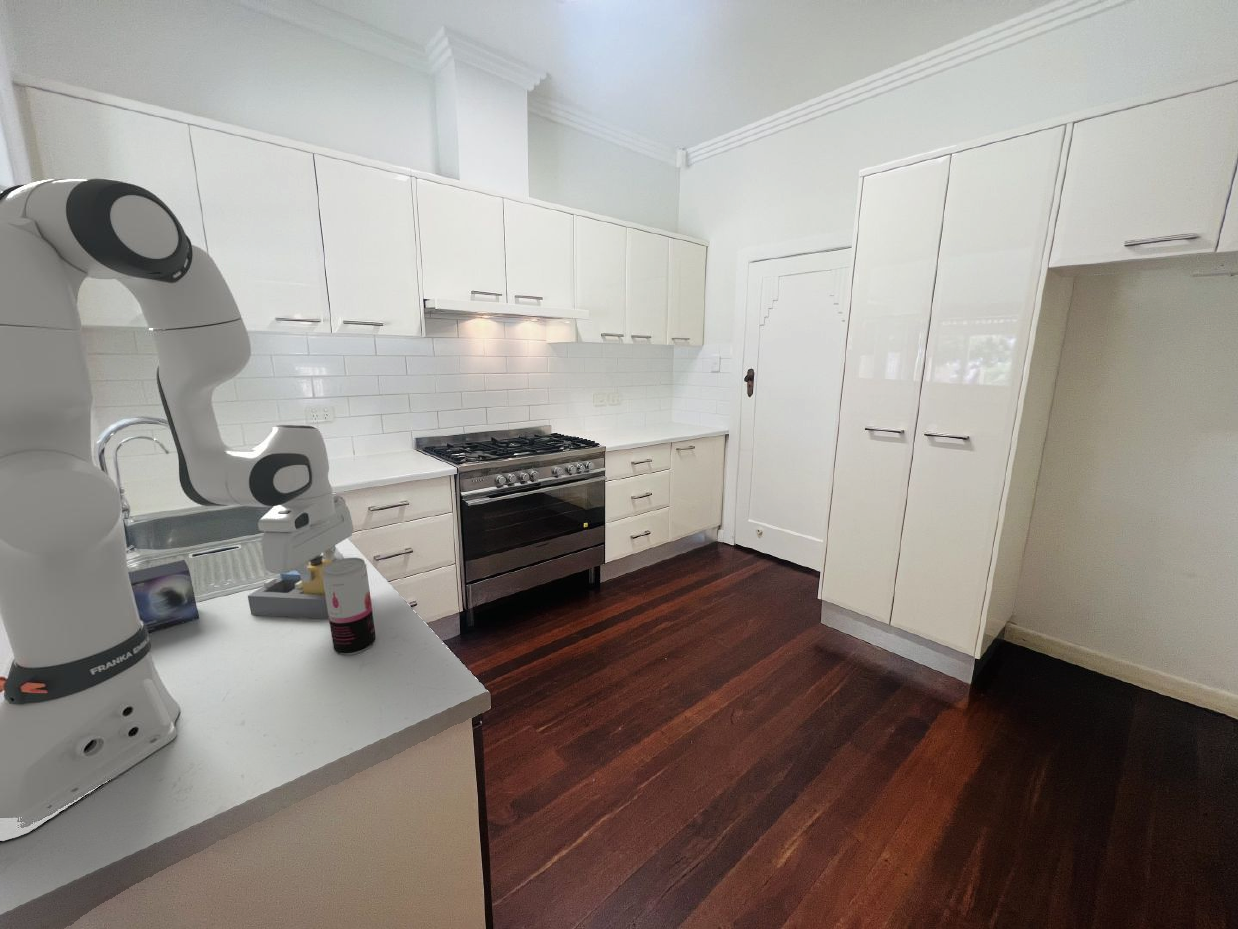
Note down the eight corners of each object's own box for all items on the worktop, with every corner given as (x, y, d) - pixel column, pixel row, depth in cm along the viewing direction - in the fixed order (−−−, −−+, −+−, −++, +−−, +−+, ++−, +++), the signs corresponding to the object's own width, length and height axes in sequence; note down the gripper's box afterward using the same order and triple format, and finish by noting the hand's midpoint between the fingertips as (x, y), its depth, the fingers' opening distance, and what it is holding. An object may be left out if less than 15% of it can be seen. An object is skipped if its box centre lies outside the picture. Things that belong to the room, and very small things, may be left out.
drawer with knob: (325, 611, 98) (318, 562, 96) (306, 609, 98) (298, 561, 96) (338, 600, 102) (331, 554, 99) (320, 600, 102) (313, 553, 100)
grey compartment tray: (328, 618, 95) (325, 595, 94) (251, 614, 97) (246, 591, 96) (357, 596, 104) (354, 573, 103) (286, 592, 106) (282, 570, 105)
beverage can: (384, 638, 89) (374, 560, 85) (353, 659, 83) (340, 576, 79) (357, 631, 91) (346, 554, 88) (325, 651, 85) (312, 570, 82)
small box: (124, 642, 88) (109, 587, 86) (122, 628, 93) (108, 576, 90) (200, 618, 96) (189, 568, 93) (195, 607, 100) (184, 558, 98)
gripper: (328, 492, 106) (337, 553, 109) (249, 525, 86) (262, 598, 89) (356, 493, 105) (364, 554, 108) (283, 526, 85) (295, 600, 88)
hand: (318, 574), depth 99 cm, fingers closed on drawer with knob, 4 cm apart
